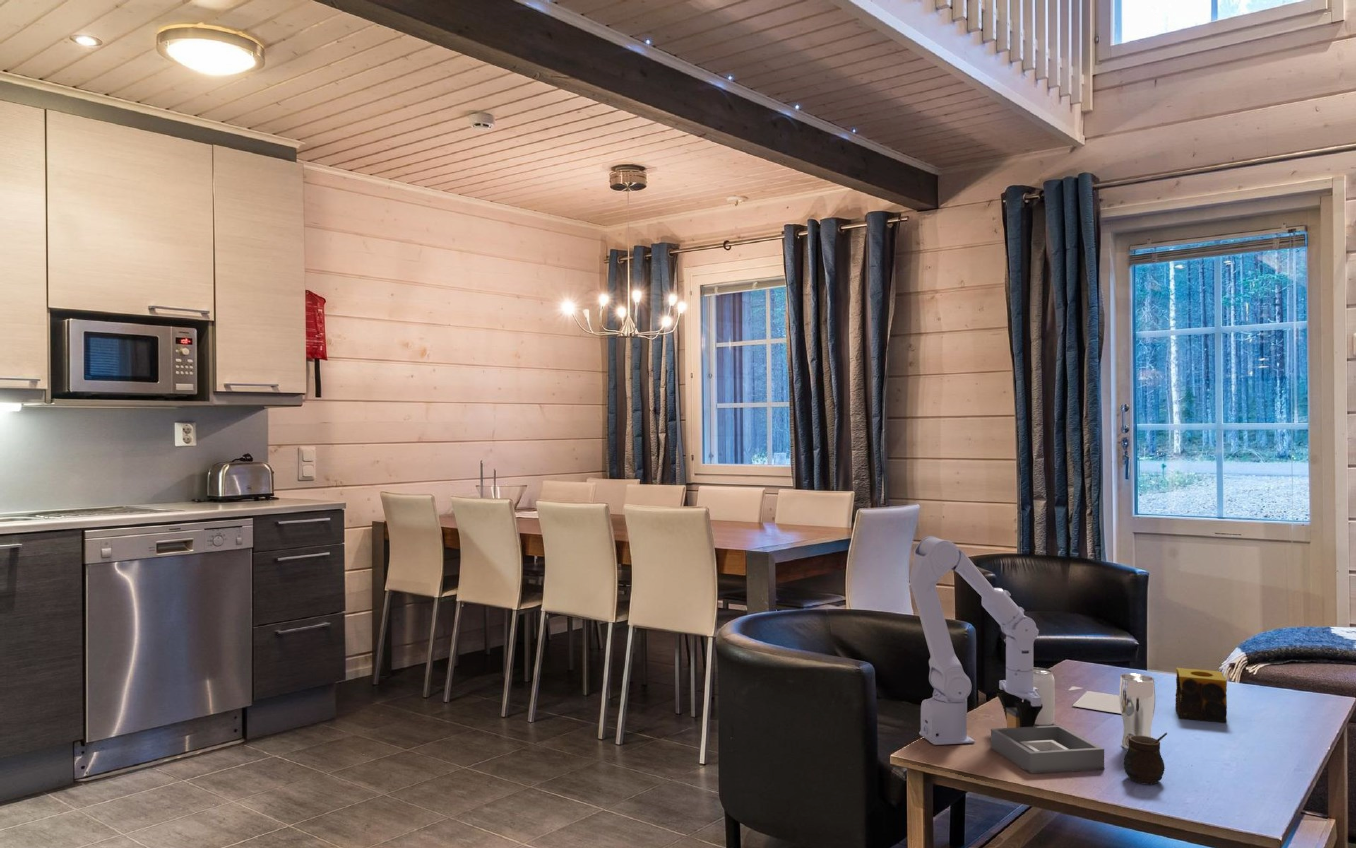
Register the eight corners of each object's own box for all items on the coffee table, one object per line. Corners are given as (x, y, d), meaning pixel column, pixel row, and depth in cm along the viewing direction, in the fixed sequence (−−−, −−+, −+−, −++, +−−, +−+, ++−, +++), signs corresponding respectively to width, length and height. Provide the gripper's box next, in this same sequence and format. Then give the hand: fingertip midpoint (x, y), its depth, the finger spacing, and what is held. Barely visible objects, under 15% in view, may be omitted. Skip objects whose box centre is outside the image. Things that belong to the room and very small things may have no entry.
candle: (1178, 719, 228) (1178, 676, 228) (1174, 707, 238) (1174, 666, 238) (1227, 724, 224) (1227, 680, 225) (1221, 712, 234) (1221, 670, 234)
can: (1056, 727, 221) (1056, 674, 221) (1026, 725, 223) (1026, 673, 223) (1051, 719, 228) (1051, 668, 228) (1022, 717, 229) (1022, 666, 229)
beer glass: (1152, 744, 209) (1152, 674, 210) (1157, 754, 203) (1157, 682, 203) (1117, 741, 212) (1117, 672, 212) (1121, 750, 205) (1120, 679, 205)
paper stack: (1032, 702, 243) (1032, 699, 243) (1057, 681, 263) (1057, 678, 263) (1133, 718, 229) (1133, 715, 229) (1151, 695, 250) (1151, 692, 250)
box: (1030, 773, 191) (1030, 753, 191) (990, 747, 207) (990, 729, 207) (1104, 769, 194) (1104, 749, 194) (1059, 743, 210) (1059, 725, 210)
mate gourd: (1122, 772, 192) (1122, 721, 193) (1164, 777, 190) (1165, 726, 190) (1123, 784, 186) (1124, 731, 186) (1167, 790, 183) (1168, 737, 183)
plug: (1015, 740, 212) (1015, 712, 212) (1006, 734, 216) (1006, 707, 216) (1033, 739, 213) (1033, 712, 213) (1023, 733, 217) (1023, 706, 217)
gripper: (1054, 676, 208) (1054, 739, 208) (1019, 660, 222) (1019, 719, 222) (1023, 677, 207) (1023, 741, 207) (990, 661, 221) (990, 721, 221)
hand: (1019, 730), depth 215 cm, fingers open, 5 cm apart
